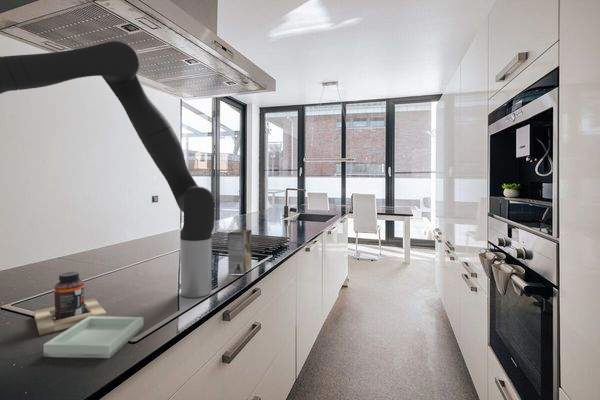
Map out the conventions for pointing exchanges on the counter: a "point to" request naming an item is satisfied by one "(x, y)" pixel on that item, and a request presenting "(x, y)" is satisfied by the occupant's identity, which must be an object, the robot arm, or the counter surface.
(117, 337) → the tray
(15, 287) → the counter surface
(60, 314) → the supplement bottle
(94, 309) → the frame
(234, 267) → the coffee box
